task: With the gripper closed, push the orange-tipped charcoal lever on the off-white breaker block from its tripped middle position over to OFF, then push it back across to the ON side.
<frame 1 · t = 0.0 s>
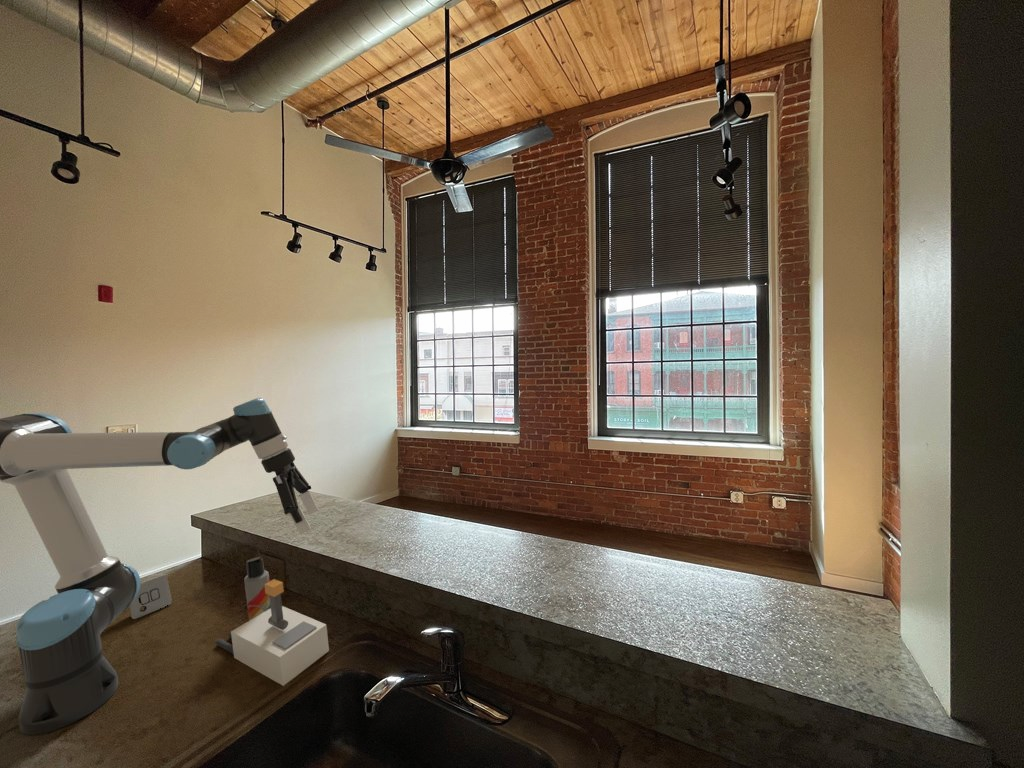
hand: (310, 521, 117), 28 cm above the counter, tool tilted 20°, fingers open, 13 cm apart
breaker block: (281, 654, 105), on the counter
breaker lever: (276, 604, 104), point 13 cm above the counter, hinge at 0.0°
lotion bottle: (262, 628, 116), on the counter
parallel rod pair: (234, 645, 109), on the counter
electrical switch: (150, 610, 127), on the counter
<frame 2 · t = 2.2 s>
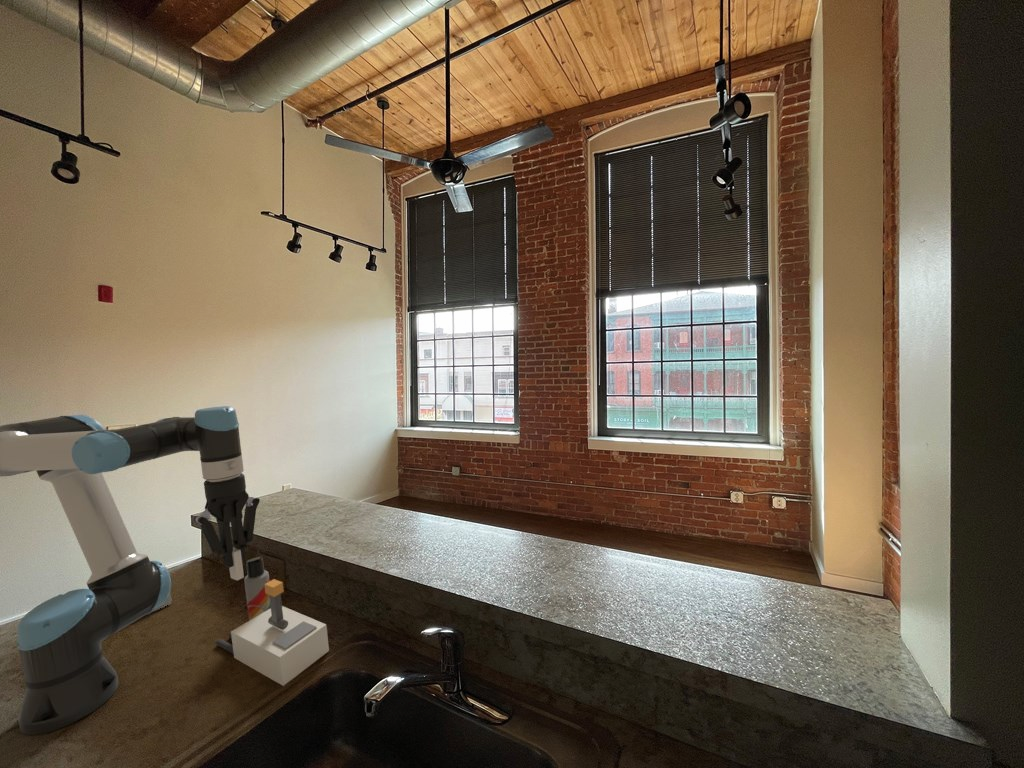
hand: (237, 577, 96), 25 cm above the counter, tool pointing down, fingers closed
nothing on the counter moved.
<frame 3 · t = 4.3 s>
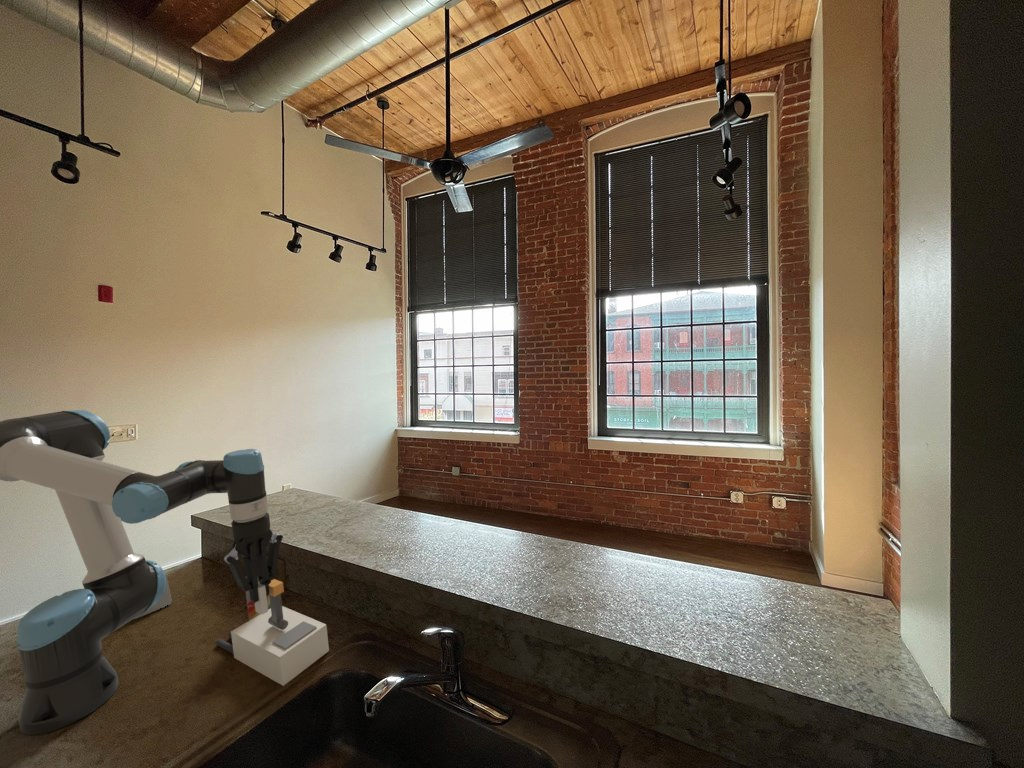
hand: (261, 611, 101), 14 cm above the counter, tool pointing down, fingers closed
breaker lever: (276, 604, 104), point 13 cm above the counter, hinge at -0.3°, touching gripper
everything else where it was.
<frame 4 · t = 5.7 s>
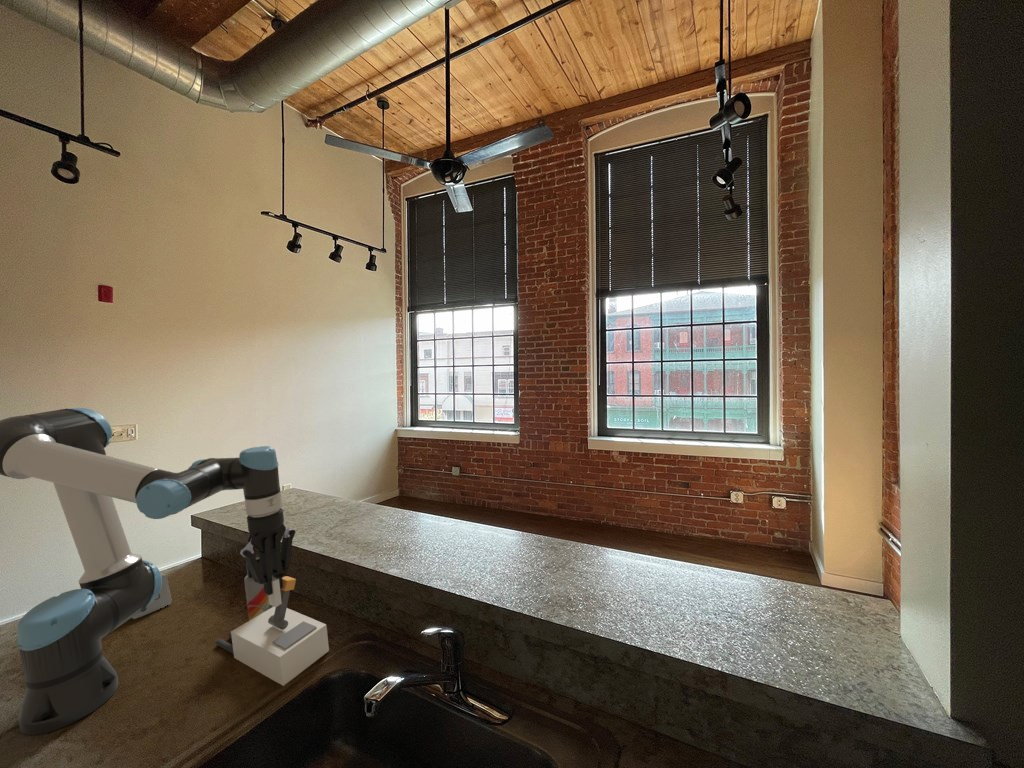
hand: (275, 603, 104), 13 cm above the counter, tool pointing down, fingers closed
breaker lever: (282, 602, 105), point 13 cm above the counter, hinge at -19.9°, touching gripper
everything else where it was.
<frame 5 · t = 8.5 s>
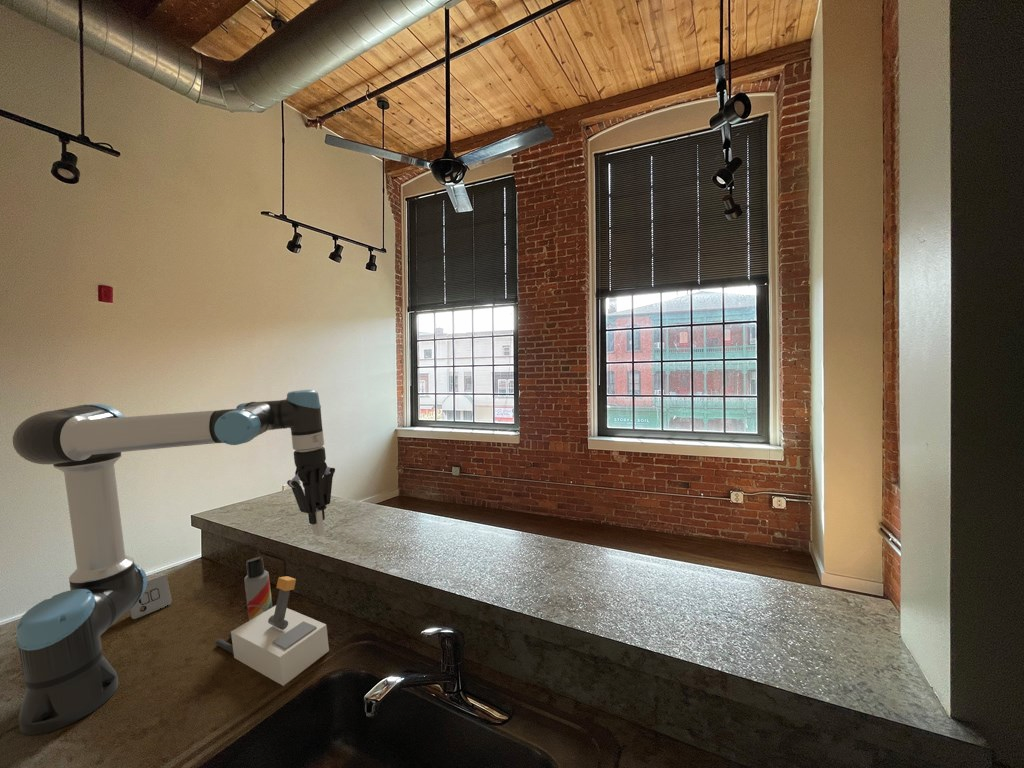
hand: (318, 533, 114), 26 cm above the counter, tool pointing down, fingers closed
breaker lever: (282, 602, 105), point 13 cm above the counter, hinge at -19.9°
everything else where it was.
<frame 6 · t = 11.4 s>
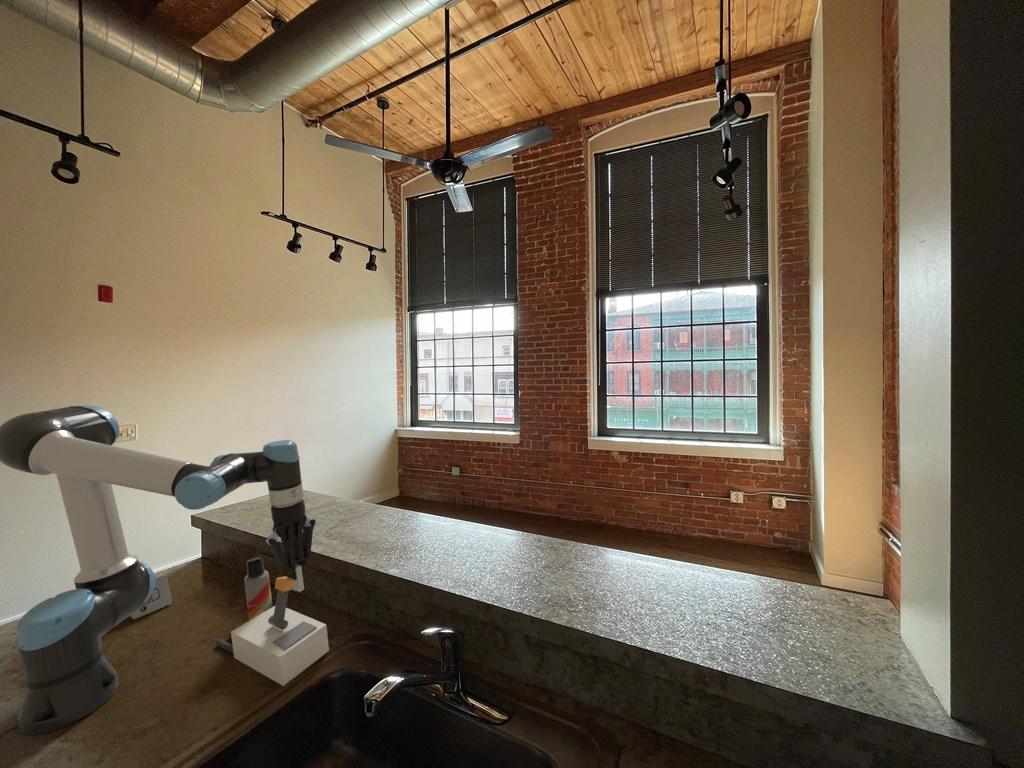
hand: (298, 589, 109), 14 cm above the counter, tool pointing down, fingers closed
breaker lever: (281, 602, 105), point 13 cm above the counter, hinge at -16.7°, touching gripper
everything else where it was.
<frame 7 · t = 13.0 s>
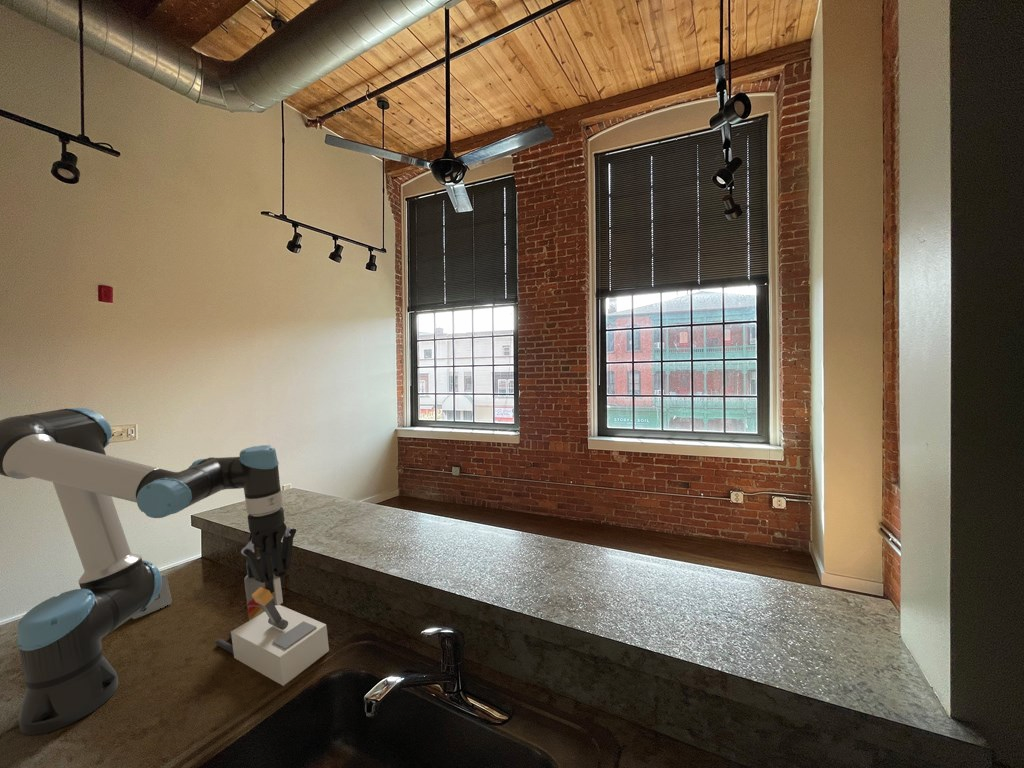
hand: (276, 602, 104), 14 cm above the counter, tool pointing down, fingers closed
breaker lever: (270, 609, 103), point 13 cm above the counter, hinge at 18.9°, touching gripper
everything else where it was.
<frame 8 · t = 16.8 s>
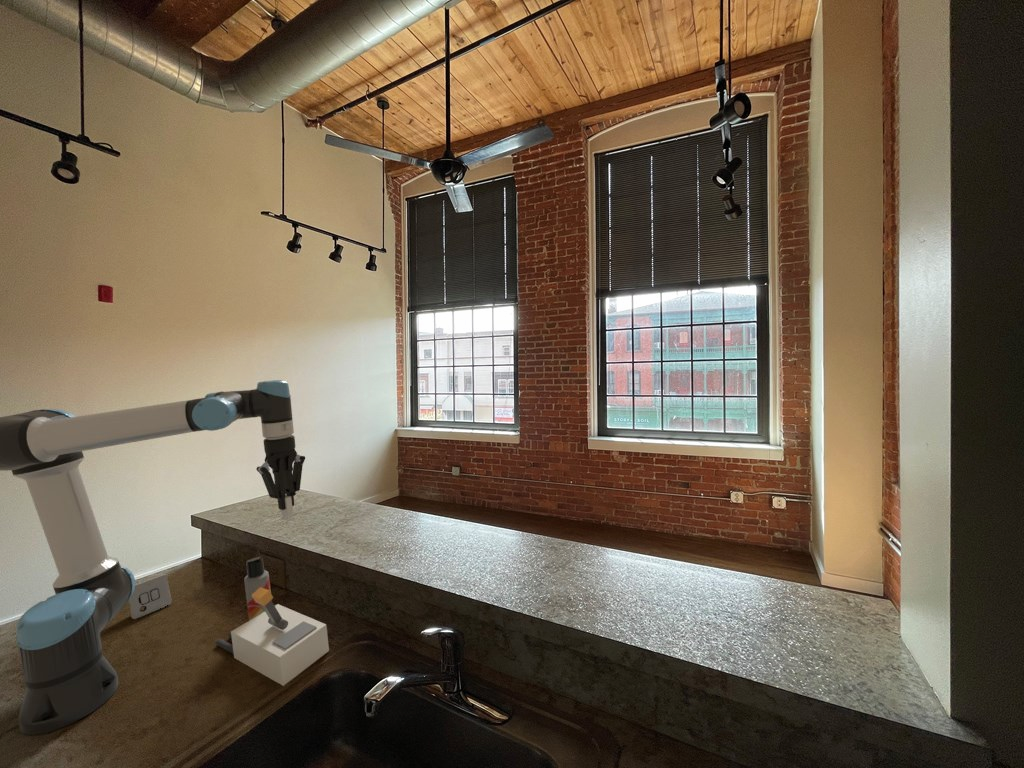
hand: (288, 519, 118), 28 cm above the counter, tool pointing down, fingers closed
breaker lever: (270, 609, 103), point 13 cm above the counter, hinge at 19.1°
everything else where it was.
at the end: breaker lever at +19° (first picture: +0°); lotion bottle moved 0.2 cm from its start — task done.
